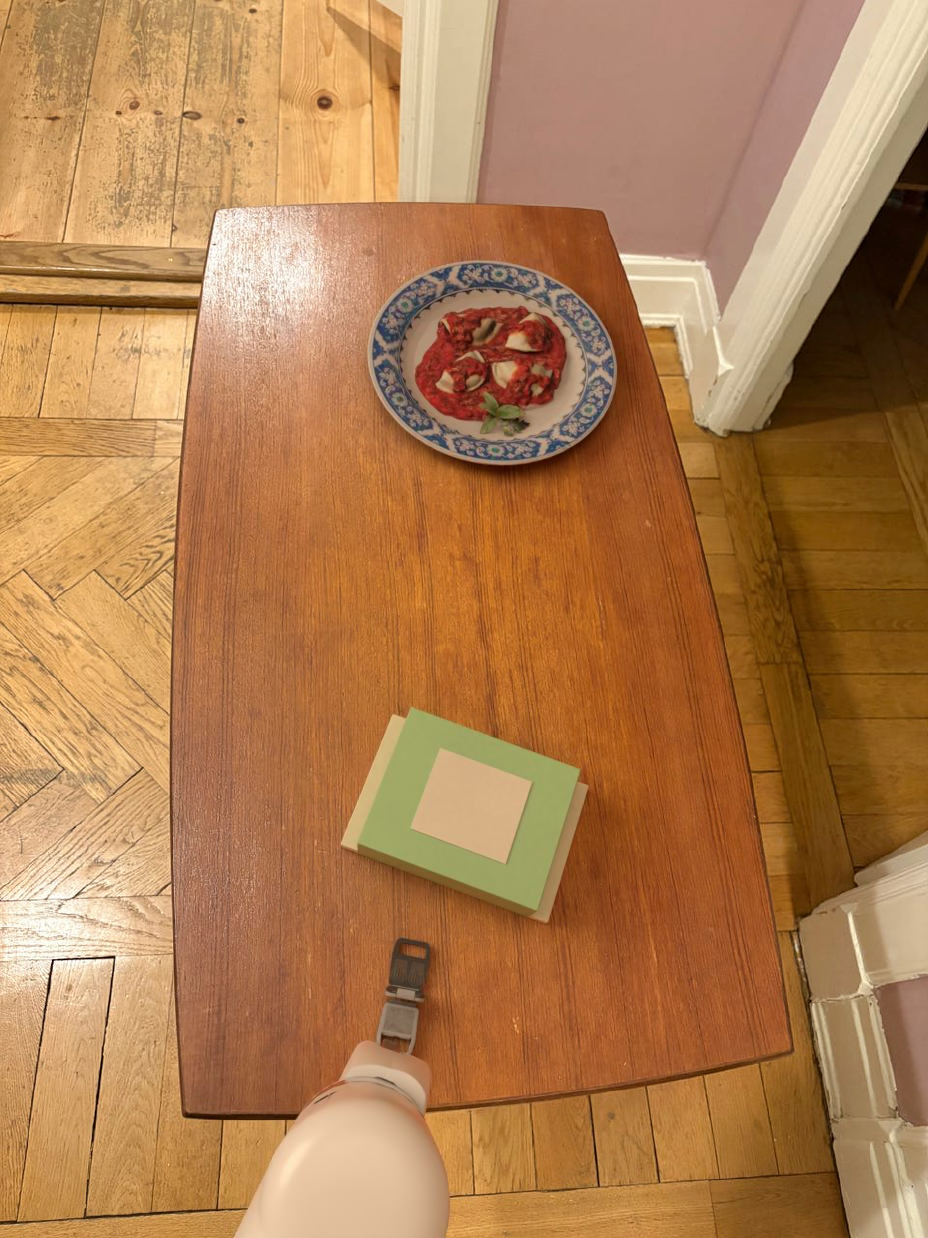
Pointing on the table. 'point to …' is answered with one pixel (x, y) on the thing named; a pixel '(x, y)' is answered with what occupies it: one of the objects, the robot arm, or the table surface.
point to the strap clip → (404, 994)
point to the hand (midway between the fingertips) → (362, 1120)
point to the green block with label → (468, 813)
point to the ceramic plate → (492, 362)
